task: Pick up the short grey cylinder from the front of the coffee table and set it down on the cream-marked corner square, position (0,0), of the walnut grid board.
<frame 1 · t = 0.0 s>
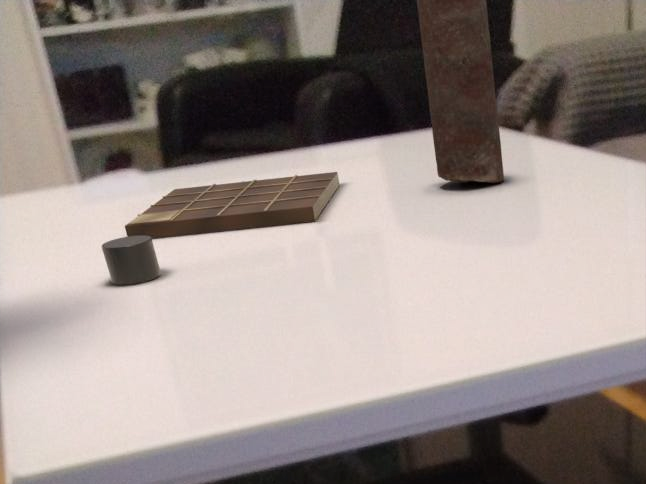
short grey cylinder: (136, 278, 93), on the table
candle: (470, 185, 115), on the table
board: (241, 211, 115), on the table
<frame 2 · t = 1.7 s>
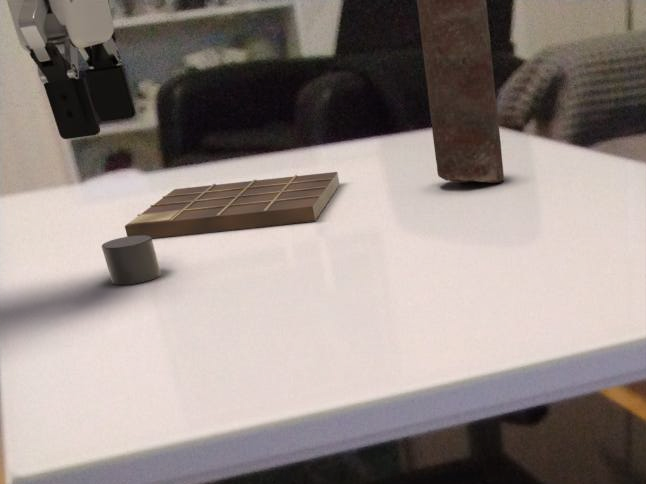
hand: (100, 127, 86), 12 cm above the table, tool pointing down, fingers open, 9 cm apart
nothing on the table moved.
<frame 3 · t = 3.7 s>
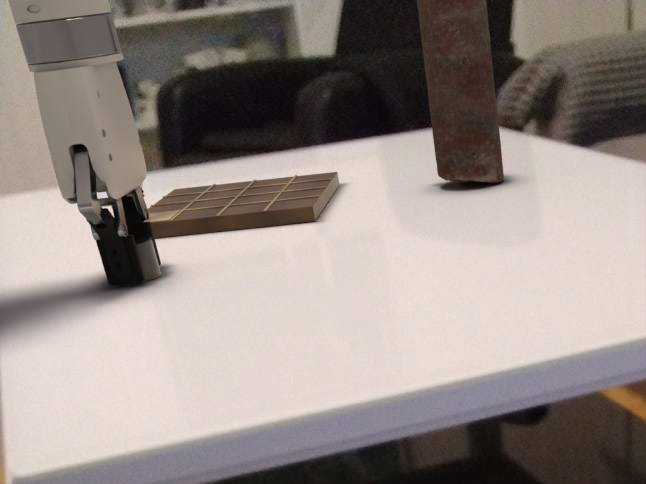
hand: (135, 274, 93), 0 cm above the table, tool pointing down, fingers closed on short grey cylinder, 4 cm apart
short grey cylinder: (136, 278, 93), on the table, touching gripper
everything else where it was.
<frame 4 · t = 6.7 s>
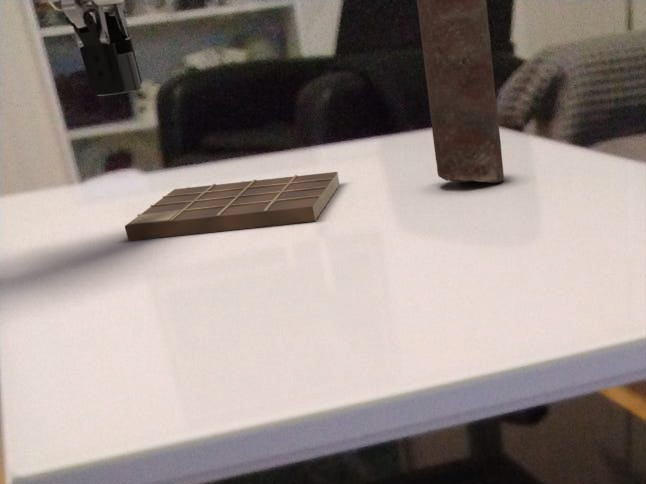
hand: (117, 87, 100), 14 cm above the table, tool pointing down, fingers closed on short grey cylinder, 4 cm apart
short grey cylinder: (119, 91, 100), point 14 cm above the table, touching gripper
everything else where it was.
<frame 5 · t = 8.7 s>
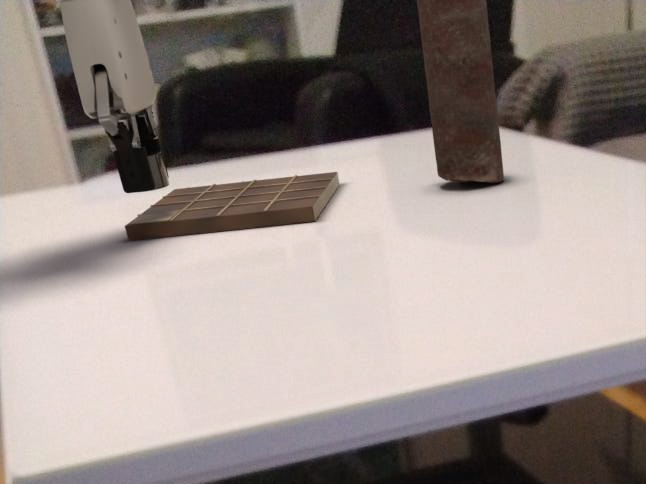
hand: (146, 184, 107), 5 cm above the table, tool pointing down, fingers closed on short grey cylinder, 4 cm apart
short grey cylinder: (148, 187, 107), point 4 cm above the table, touching gripper
everything else where it was.
when the fingers open (2 cm above the table, at t = 9.9 s): short grey cylinder stays where it is, resting on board.
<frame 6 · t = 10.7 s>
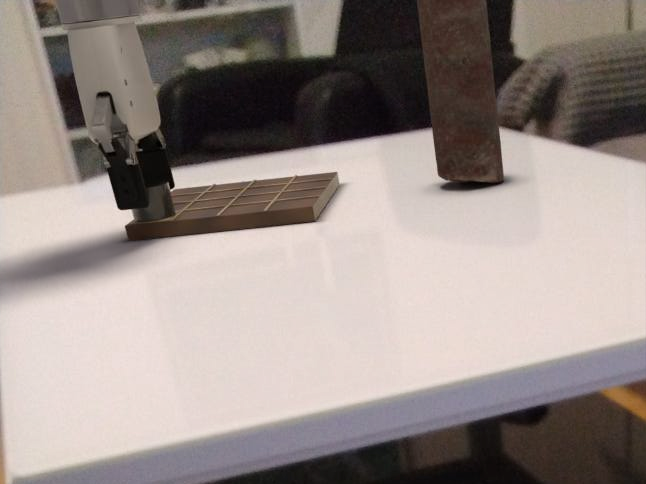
hand: (148, 198, 107), 3 cm above the table, tool pointing down, fingers open, 9 cm apart
short grey cylinder: (155, 217, 108), point 2 cm above the table, touching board
everything else where it was.
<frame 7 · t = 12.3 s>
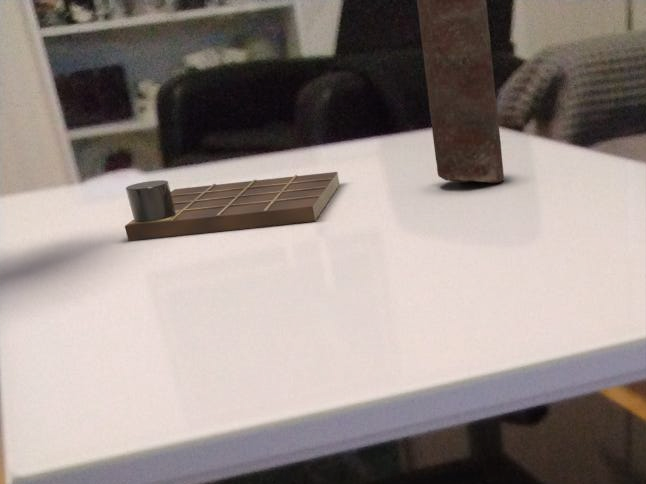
nothing on the table moved.
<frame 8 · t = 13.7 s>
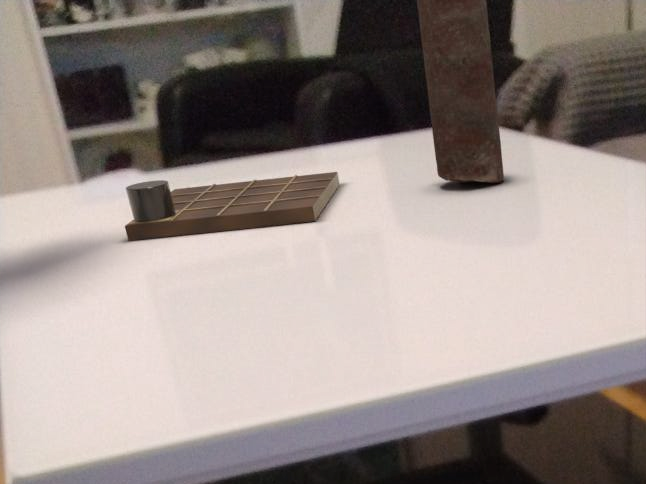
nothing on the table moved.
at the end: short grey cylinder 0.1 cm from the target spot on the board, point 1.6 cm above the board's base; short grey cylinder tilted 0°; the gripper is holding nothing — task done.
